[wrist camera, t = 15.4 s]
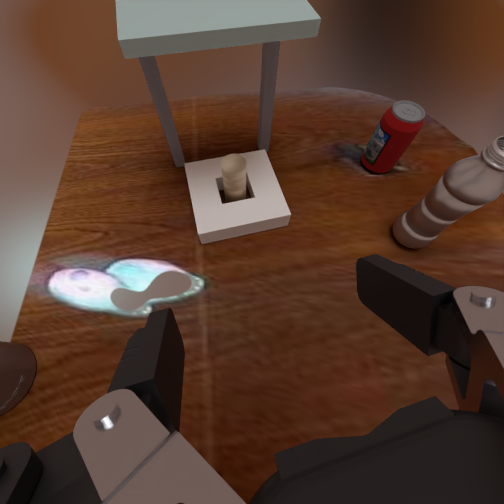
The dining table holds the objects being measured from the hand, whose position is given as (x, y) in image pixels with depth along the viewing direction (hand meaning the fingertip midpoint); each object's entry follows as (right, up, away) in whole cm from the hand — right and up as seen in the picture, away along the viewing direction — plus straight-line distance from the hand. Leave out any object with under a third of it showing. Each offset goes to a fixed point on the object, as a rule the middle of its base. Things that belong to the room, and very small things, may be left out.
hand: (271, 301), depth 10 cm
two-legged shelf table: (-6, +18, +40) cm, 45 cm away
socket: (-4, +12, +37) cm, 40 cm away
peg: (-4, +12, +37) cm, 40 cm away
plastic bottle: (+27, +5, +35) cm, 45 cm away
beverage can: (+26, +21, +43) cm, 54 cm away
